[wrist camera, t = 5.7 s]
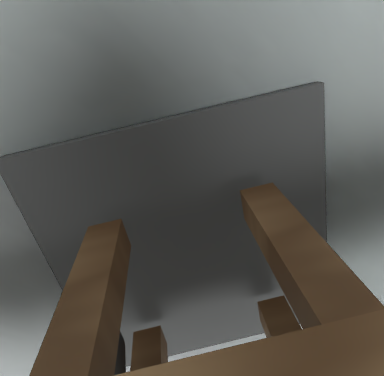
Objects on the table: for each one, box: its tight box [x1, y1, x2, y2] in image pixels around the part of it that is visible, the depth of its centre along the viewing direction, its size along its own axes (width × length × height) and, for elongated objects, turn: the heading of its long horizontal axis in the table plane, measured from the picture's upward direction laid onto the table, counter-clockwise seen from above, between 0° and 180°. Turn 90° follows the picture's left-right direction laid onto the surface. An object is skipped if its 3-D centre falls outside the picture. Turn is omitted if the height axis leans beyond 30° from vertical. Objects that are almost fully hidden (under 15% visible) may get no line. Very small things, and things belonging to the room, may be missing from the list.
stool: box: [29, 182, 384, 376], centre depth 7 cm, size 6×6×6 cm
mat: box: [0, 82, 327, 367], centre depth 11 cm, size 10×10×1 cm
